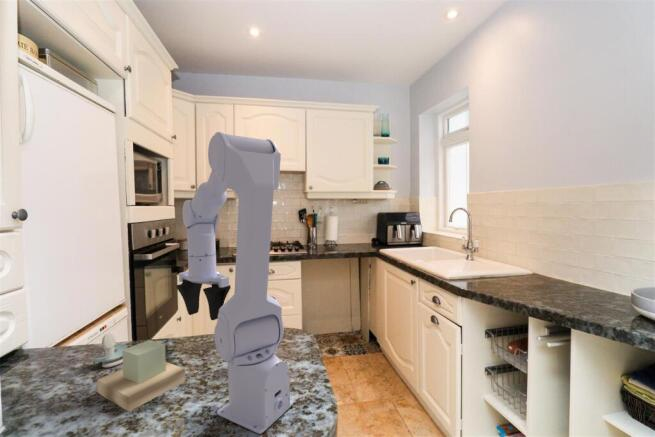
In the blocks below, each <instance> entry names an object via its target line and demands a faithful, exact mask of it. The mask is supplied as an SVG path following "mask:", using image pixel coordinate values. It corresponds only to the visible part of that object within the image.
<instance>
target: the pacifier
mask: <svg viewBox="0 0 655 437" xmlns="http://www.w3.org/2000/svg"><path fill="white" fill-rule="evenodd" d="M116 341H117V338H116V336H115V335H114V334H113V333H109V332H108V333H106V334H105V335H103V337H102V339H101V345H102V347H103V348H104V356H103V357H95V358H91V359H90V360H91V361H92V362H97V363H102V364H101V366H102V367H103V368H111V367H115V366H118V365H120V364H123V358H122V350H124V349H127V348H129V347H128V345H126V344H125V343H121V344H118V345H116ZM121 358H122V359H121Z"/></svg>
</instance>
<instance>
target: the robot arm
mask: <svg viewBox="0 0 655 437" xmlns="http://www.w3.org/2000/svg"><path fill="white" fill-rule="evenodd" d="M207 152H208V153H207V154H208V155H207V157H208V158H207V159H208V163H209V164H208V165H209V167H210V170H211V171H210V174H209V176H208V180H207V181H203V182H202V183H200V185H199V186H198V188H197V190H196V192H195V194H194V195H193V197H192V199H189V200H188V199H187V200H184V201H183V205H182V222H183V225H184V227H185V228H186V237H187V238H186V239H187V242H186V243H187V264H188V265H187V266H188V268H187V270H188V271H183V272H179V273H178V282H180V284H177V285H176V289H177V291H178V292H179V293H180V296H181V297H182V299H183V302H184V305H185V308H186V311H187V314H188V315H189V316H192V315H195V314H198V313H199V309H200V296H201V295H200V294H201V290H202V291H203V293H204V295H205V298H206V301H207V304H208V310H209V311H208V313H209V314H208V315H209V317H210V320H211V321H215V320H217V322H216V324H215V327H214V331H213V333H214V334H213V336H214V337H213V338H214V344H215V349H216V352H217V354H218V356H219V358H221V359H222V360H223V361H224V362H227V382H228V387H227V388H228V402H227V403H226V404H224V405H223V406H222V407H220V408H219V409H217V411H216V415H217V416H220V417H221V418H225V419H226V420H228V421H231V422H233V423H235V424H237V425H239V426H242V427H243V428H246V429H248V430H250V431H252V432H255V433H256V434H263V433H264V432H265V431H267V429H268V428H269V427H271V425H273V424H274V423H275V422H276V421H277V420H278V419H279V418H281V416H282V415H284V413H285V412H287V410H289V409H290V408H291V407H293V405H294V400H292V399H291V393H290V391H291V389H290V387H291V386H290V368H289V365H288V364H287V362H286V361H284V360H282V359H280V358H279V357H278V356H277V355H275V354H274V352H276V351H277V352H278V345H279V344H281V342H282V341H283V338H284V334H285V333H284V331H285V327H284V321H283V314H282V313H283V312H282V310H283V307H282V306H281V304H280V303H279V301H278V300H276V299H275V297H273V296H271V295H270V294H268V288H269V287H268V285H269V271H270V270H269V269H270V268H269V267H270V257H271V256H270V254H271V253H270V252H271V238H272V221H273V209H274V208H273V204H274V192H275V191H277V190H278V188H279V185H280V172H281V159H282V153H281V151H280V150H279V148H278V146H277V144H276V143H275V141H274V140H272V139H263V138H262V139H261V138H256V137H255V138H254V137H247V136H242V135H237V134H236V135H235V134H230V133H229V134H227V133H224V132H221V131H217V132H215V133H214V134H213V135H212V136H211V138H210V140H209V144H208V149H207ZM228 189H229V190H232V191H234V193H235V194H236V195H237V199H238V205H237V206H238V207H237V208H238V209H237V225H236V226H237V230H236V231H237V232H236V248H235V250H236V252H235V253H236V254H235V272H234V294H233V295H232V296H231V297H230V298H228V299H227V301H226V298H227V296H228V294H229V292H230V290H231V287H232V286H231V284H230V277H229V276H227V275H226V276H225V275H223V274H220V271H217V254H216V252H217V250H216V234H218V223H219V218H220V216H219V215H220V213H219V212H220V211H221V209H222V207H223V206H224V204H225V203H226V201H227V199H228V193H227V190H228ZM203 285H208V287H204V288H202V286H203ZM225 301H226V302H225Z"/></svg>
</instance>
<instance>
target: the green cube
mask: <svg viewBox="0 0 655 437" xmlns="http://www.w3.org/2000/svg"><path fill="white" fill-rule="evenodd" d="M121 358H122V359H123V363H122V369H123V377H124V378H126V379H129V380H131V381H133V382H136V383H138V384H140V383H142V382H144V381H146V380H148V379H150V378H152V377H154V376H156V375H158V374H160V373H162V372H164V371H166V362H167V361H166V345H165V343H160V342H157V341H156V340H152V339H148V340H145V341H143V342H140V343H137V344H135V345H133V346H130V347H128V348H127V349H124V350H122V357H121Z"/></svg>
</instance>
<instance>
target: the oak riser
mask: <svg viewBox="0 0 655 437" xmlns="http://www.w3.org/2000/svg"><path fill="white" fill-rule="evenodd" d="M96 380H97V381H96V385H97V387H96V388H97V393H98V394H99V395H101V396H103V397H104V398H105V399H107V400H108V401H111V402H112V403H114V404H116V405H117V406H119V407H120V408H122V409H124V410H126V411H128V412H131V411H133V410H135V409H136V408H138V407H140V406H143V405H144V404H146V403H148V402H151V401H152V400H154V399H155V398H157V397H159V396H161V395H163V394H164V393H166V392H168V391H170V390H173V388H176V387H178V386H179V385H181V384H183V383H185V382H186V370H185V368H184V367H181V366H178V365H175V364H173V363H171V362H168V361H166V371H164V372H162V373H160V374H158V375H156V376H154V377H152V378H150V379H148V380H146V381H144V382H142V383H140V384H138V383H136V382H133V381H131V380H129V379H126V378H124V377H123V368H121V369H120V370H117V371H114V372H112V373H110V374H107V375H105V376H102V377H100V378H98V379H96ZM175 386H176V387H175Z"/></svg>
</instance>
